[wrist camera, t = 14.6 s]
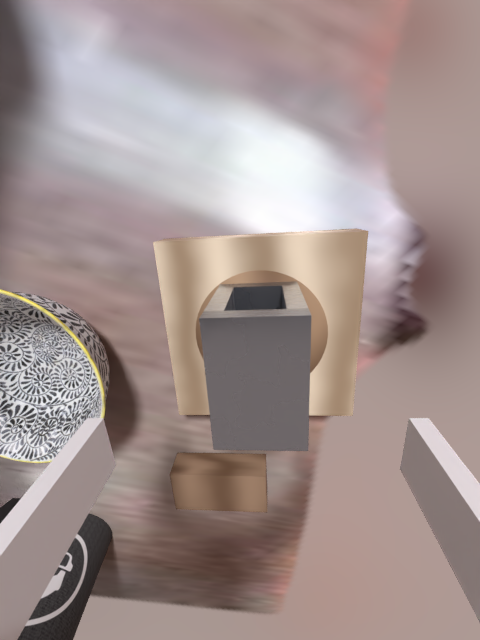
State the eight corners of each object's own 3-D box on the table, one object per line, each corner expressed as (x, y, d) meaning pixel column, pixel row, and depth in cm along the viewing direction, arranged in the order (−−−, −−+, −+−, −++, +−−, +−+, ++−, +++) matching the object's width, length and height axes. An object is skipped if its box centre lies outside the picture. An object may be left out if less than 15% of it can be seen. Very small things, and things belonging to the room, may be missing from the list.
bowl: (163, 398, 32) (134, 451, 25) (35, 421, 34) (-24, 476, 27) (103, 248, 27) (44, 262, 20) (-42, 290, 29) (-139, 315, 22)
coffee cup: (42, 530, 41) (-75, 698, 27) (73, 492, 38) (-41, 659, 24) (102, 563, 42) (21, 739, 28) (136, 530, 39) (64, 708, 25)
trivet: (187, 396, 31) (179, 415, 28) (165, 238, 26) (152, 242, 23) (344, 396, 30) (352, 416, 27) (356, 228, 24) (368, 231, 22)
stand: (183, 485, 36) (175, 509, 33) (177, 452, 34) (169, 474, 31) (267, 487, 35) (267, 512, 32) (265, 454, 33) (265, 476, 30)
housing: (220, 284, 24) (199, 318, 16) (296, 281, 23) (311, 315, 16) (228, 382, 27) (213, 449, 19) (296, 382, 26) (308, 450, 19)
